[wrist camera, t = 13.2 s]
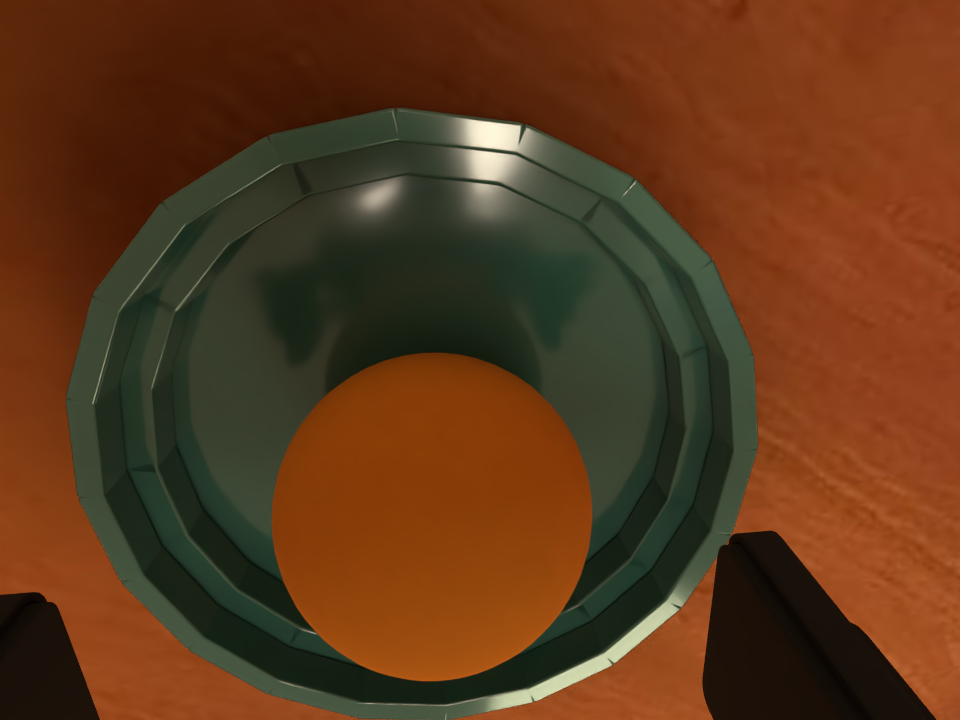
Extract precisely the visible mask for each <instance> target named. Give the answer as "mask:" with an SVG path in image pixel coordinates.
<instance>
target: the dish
mask: <svg viewBox="0 0 960 720" xmlns="http://www.w3.org/2000/svg"><path fill="white" fill-rule="evenodd" d="M418 353H450V354H460V355H464V356H469V357H473V358H478V359H480V360H483V361H486V362H489V363H491V364H494V365H496V366H498V367H500V368H502V369H504V370H506V371H508V372H510V373H512V374H514V375H516V376H518V377H519V378H520V379H522V380H523V381H525V382H526V383H527V384H529V385H530V386H532V387H533V388H534V389H535V390H536V391H537V392H538V393H539V394H540V395H541V396H542V397H543V398H544V399H545V400H546V401H548V402H549V403H550V404H551V405H552V407H553V408H554V409H555V410H556V412H557V413H558V414H559V415H560V417H561V418H562V419H563V421H564V423H565V424H566V426H567V427H568V429H569V431H570V433H571V434H572V436H573V438H574V440H575V441H576V443H577V446H578V448H579V451H580V454H581V456H582V459H583V462H584V465H585V468H586V471H587V475H588V480H589V485H590V492H591V500H592V526H591V536H590V544H589V549H588V553H587V556H586V560H585V563H584V567H583V570H582V573H581V576H580V578H579V581H578V583H577V585H576V587H575V589H574V591H573V593H572V595H571V597H570V598H569V600H568V602H567V603H566V605H565V607H564V608H563V610H562V611H561V613H560V614H559V616H558V617H557V618H556V619H555V620H554V622H553V623H552V624H551V625H550V626H549V627H548V628H547V629H546V630H545V632H544V633H543V634H542V635H541V636H539V637H538V638H537V639H536V640H535V641H534V642H533V643H532V644H531V645H530V646H528V647H527V648H526V649H524V650H523V651H522V652H520V653H519V654H517V655H515V656H514V657H512V658H511V659H509V660H507V661H505V662H503V663H501V664H499V665H497V666H495V667H493V668H491V669H488V670H486V671H483V672H480V673H478V674H475V675H471V676H467V677H463V678H458V679H452V680H443V681H416V680H407V679H402V678H397V677H393V676H388V675H384V674H381V673H378V672H375V671H372V670H370V669H368V668H366V667H363V666H361V665H359V664H357V663H356V662H354V661H352V660H351V659H349V658H347V657H346V656H344V655H343V654H341V653H339V652H338V651H337V650H335V649H334V648H333V647H331V646H330V645H329V644H328V643H326V642H325V641H324V640H323V639H322V638H321V637H320V636H319V635H318V633H317V632H316V631H315V630H314V629H313V628H312V627H311V626H310V625H309V624H308V622H307V621H306V620H305V619H304V617H303V616H302V614H301V613H300V612H299V610H298V609H297V607H296V605H295V603H294V601H293V600H292V598H291V596H290V594H289V592H288V590H287V588H286V586H285V584H284V582H283V579H282V576H281V572H280V569H279V566H278V562H277V559H276V555H275V551H274V543H273V536H272V502H273V496H274V491H275V486H276V481H277V476H278V472H279V469H280V466H281V464H282V461H283V458H284V456H285V453H286V451H287V449H288V446H289V444H290V442H291V440H292V439H293V437H294V435H295V433H296V432H297V430H298V428H299V427H300V425H301V424H302V423H303V421H304V420H305V419H306V417H307V416H308V415H309V414H310V412H311V411H312V410H313V409H314V407H315V406H316V405H317V404H318V403H319V402H320V401H321V400H322V399H323V398H324V397H325V396H326V395H327V394H328V393H329V392H330V391H332V390H333V389H334V388H336V387H337V386H338V385H340V384H341V383H343V382H344V381H345V380H347V379H348V378H350V377H351V376H353V375H355V374H356V373H358V372H360V371H362V370H364V369H366V368H367V367H370V366H372V365H375V364H377V363H380V362H382V361H385V360H389V359H392V358H396V357H400V356H404V355H411V354H418ZM66 397H67V398H66V409H67V417H68V425H69V434H70V442H71V450H72V458H73V466H74V474H75V483H76V491H77V496H79V502H80V504H81V506H82V508H83V510H84V512H85V513H86V515H87V517H88V519H89V521H90V523H91V525H92V527H93V529H94V531H95V533H96V535H97V537H98V539H99V541H100V543H101V545H102V547H103V549H104V551H105V553H106V555H107V556H108V558H109V560H110V562H111V564H112V566H113V568H114V570H115V572H116V574H117V576H118V578H119V580H120V581H121V582H123V583H122V584H123V585H124V586H125V587H126V588H127V589H128V590H129V591H130V592H131V593H132V594H133V595H134V596H135V597H136V598H137V599H138V600H139V601H140V602H141V603H142V604H143V605H144V606H145V607H146V608H147V609H148V610H149V611H150V612H151V613H152V614H153V615H154V616H155V617H156V618H157V619H158V620H159V621H160V622H161V623H162V624H163V625H164V626H165V627H166V628H167V629H168V630H169V631H170V632H171V633H172V634H173V635H174V636H175V637H176V638H177V639H178V640H179V641H180V642H181V643H182V644H183V645H184V646H185V647H186V648H188V650H189V651H190V652H192V653H194V654H196V655H198V656H199V657H201V658H203V659H205V660H207V661H208V662H210V663H212V664H214V665H215V666H217V667H219V668H221V669H223V670H224V671H226V672H228V673H230V674H232V675H233V676H235V677H237V678H239V679H241V680H242V681H244V682H246V683H248V684H249V685H251V686H253V687H255V688H257V689H258V690H260V691H262V692H264V693H266V694H270V695H272V696H275V697H279V698H283V699H287V700H290V701H294V702H298V703H302V704H305V705H309V706H313V707H317V708H320V709H324V710H328V711H332V712H335V713H339V714H343V715H347V716H351V717H357V718H358V719H395V720H452V719H457V718H462V717H467V716H472V715H476V714H481V713H486V712H491V711H496V710H500V709H505V708H510V707H515V706H520V705H525V704H529V703H533V701H534V702H536V701H539V700H541V699H543V698H545V697H547V696H549V695H551V694H553V693H556V692H558V691H560V690H562V689H564V688H566V687H568V686H570V685H573V684H575V683H577V682H579V681H581V680H583V679H585V678H587V677H590V676H592V675H594V674H596V673H598V672H600V671H602V670H604V669H607V668H609V667H611V666H613V663H617V662H618V661H619V660H620V659H622V658H623V657H624V656H625V655H626V654H628V653H629V652H630V651H631V650H632V649H634V648H635V647H636V646H637V645H638V644H640V643H641V642H642V641H643V640H644V639H646V638H647V637H648V636H649V635H650V634H652V633H653V632H654V631H655V630H656V629H658V628H659V627H660V626H661V625H662V624H664V623H665V622H666V621H667V620H669V619H670V618H671V617H672V616H673V615H675V614H676V613H677V612H678V611H679V610H680V609H681V607H683V606H684V605H685V603H686V602H687V600H688V599H689V597H690V596H691V594H692V593H693V591H694V590H695V589H696V587H697V586H698V584H699V583H700V581H701V580H702V578H703V577H704V575H705V574H706V573H707V571H708V570H709V568H710V567H711V565H712V564H713V562H714V561H715V559H716V558H717V556H718V551H719V548H720V547H721V546H722V545H726V543H727V542H728V540H729V539H730V537H731V534H732V533H733V530H734V527H735V524H736V520H737V517H738V514H739V510H740V507H741V504H742V500H743V497H744V494H745V490H746V487H747V484H748V480H749V477H750V474H751V470H752V467H753V464H754V460H755V457H756V454H757V448H758V431H757V410H756V389H755V367H754V355H753V353H752V349H751V346H750V344H749V342H748V339H747V337H746V335H745V332H744V330H743V327H742V325H741V323H740V320H739V318H738V316H737V313H736V311H735V309H734V306H733V304H732V302H731V299H730V297H729V295H728V292H727V290H726V288H725V285H724V283H723V281H722V278H721V276H720V274H719V271H718V269H717V267H716V264H715V262H714V261H713V260H712V259H711V256H710V255H709V254H708V253H707V252H706V251H705V250H704V249H703V248H702V247H701V245H700V244H699V243H698V242H697V241H696V240H695V239H694V238H693V237H692V236H691V235H690V234H689V233H688V232H687V231H686V230H685V229H684V228H683V227H682V226H681V225H680V224H679V222H678V221H677V220H676V219H675V218H674V217H673V216H672V215H671V214H670V213H669V212H668V211H667V210H666V209H665V208H664V207H663V206H662V205H661V204H660V203H659V202H658V200H657V199H656V198H655V197H654V196H653V195H652V194H651V193H650V192H649V191H648V190H647V189H646V188H645V187H644V186H643V185H642V184H641V183H640V182H639V181H638V180H637V179H634V177H633V176H632V175H630V174H628V173H626V172H624V171H622V170H620V169H618V168H616V167H614V166H612V165H610V164H608V163H606V162H604V161H602V160H600V159H598V158H596V157H594V156H592V155H590V154H588V153H586V152H584V151H582V150H580V149H578V148H576V147H573V146H571V145H569V144H567V143H565V142H563V141H561V140H559V139H557V138H555V137H553V136H551V135H549V134H547V133H545V132H543V131H541V130H539V129H537V128H535V127H533V126H531V125H529V124H523V123H522V122H518V121H510V120H502V119H493V118H485V117H477V116H469V115H461V114H453V113H445V112H437V111H428V110H420V109H412V108H404V107H398V108H393V107H391V108H386V109H381V110H377V111H372V112H368V113H363V114H359V115H354V116H349V117H345V118H340V119H336V120H331V121H326V122H322V123H317V124H313V125H308V126H303V127H299V128H294V129H290V130H285V131H280V132H276V133H271V134H270V135H269V136H264V137H262V138H261V139H259V140H258V141H256V142H255V143H253V144H251V145H250V146H248V147H247V148H245V149H243V150H242V151H240V152H239V153H237V154H235V155H234V156H232V157H231V158H229V159H228V160H226V161H224V162H223V163H221V164H220V165H218V166H216V167H215V168H213V169H212V170H210V171H209V172H207V173H205V174H204V175H202V176H201V177H199V178H197V179H196V180H194V181H193V182H191V183H190V184H188V185H186V186H185V187H183V188H182V189H180V190H178V191H177V192H175V193H174V194H172V195H170V196H169V197H167V198H166V199H165V200H164V201H163V202H161V203H159V205H158V206H157V207H156V209H155V210H154V211H153V213H152V214H151V216H150V217H149V218H148V220H147V221H146V222H145V224H144V225H143V226H142V228H141V229H140V230H139V232H138V233H137V234H136V236H135V237H134V238H133V240H132V241H131V242H130V244H129V245H128V246H127V248H126V249H125V250H124V252H123V253H122V254H121V256H120V257H119V259H118V260H117V261H116V263H115V264H114V265H113V267H112V268H111V269H110V271H109V272H108V273H107V275H106V276H105V277H104V279H103V280H102V281H101V283H100V284H99V285H98V287H97V288H96V289H95V291H94V292H93V296H92V298H91V301H90V305H89V309H88V313H87V317H86V320H85V324H84V328H83V332H82V336H81V340H80V343H79V347H78V351H77V355H76V359H75V362H74V366H73V370H72V374H71V378H70V381H69V385H68V389H67V393H66Z"/></svg>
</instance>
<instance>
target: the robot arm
mask: <svg viewBox="0 0 960 720" xmlns="http://www.w3.org/2000/svg"><path fill="white" fill-rule="evenodd" d="M702 684H703V692H704V697H705V700H706V704H707V706H708V709H709V711H710V713H711V715H712V717H713V720H936V718H935V717H934V716H933V715H932V714H931V712H930V711H929V710H928V709H927V707H926V706H925V705H924V704H923V703H922V701H921V700H920V699H919V698H918V696H917V695H916V694H915V693H914V692H913V690H912V689H911V688H910V687H909V685H908V684H907V683H906V682H905V681H904V679H903V678H902V677H901V676H900V674H899V673H898V672H897V671H896V670H895V668H894V667H893V666H892V665H891V664H890V662H889V661H888V660H887V659H886V657H885V656H884V655H883V654H882V653H881V651H880V650H879V649H878V648H877V646H876V645H875V644H874V643H873V642H872V640H871V639H870V638H869V637H868V636H867V635H866V634H865V633H864V632H863V631H862V630H861V629H860V628H859V627H858V626H856V625H855V624H853V623H851V622H849V621H848V619H847V618H846V617H845V616H844V614H843V613H842V612H841V611H840V609H839V608H838V607H837V606H836V604H835V603H834V602H833V601H832V600H831V598H830V597H829V596H828V595H827V593H826V592H825V591H824V590H823V588H822V587H821V586H820V585H819V583H818V582H817V581H816V580H815V578H814V577H813V576H812V575H811V573H810V572H809V571H808V570H807V569H806V567H805V566H804V565H803V564H802V562H801V561H800V560H799V559H798V557H797V556H796V555H795V554H794V552H793V551H792V550H791V549H790V547H789V546H788V545H787V544H786V543H785V541H784V540H783V539H782V538H781V536H779V535H778V534H777V533H776V532H774V531H762V532H750V533H738V534H734V535H732V536H731V538H730V540H729V544H728V545H722V546H721V547H720V548H719V551H718V557H717V565H716V573H715V582H714V590H713V598H712V606H711V614H710V622H709V630H708V638H707V646H706V655H705V663H704V671H703V682H702ZM0 720H100V719H99V716H98V713H97V711H96V708H95V705H94V703H93V700H92V697H91V695H90V692H89V689H88V687H87V684H86V681H85V679H84V676H83V673H82V671H81V668H80V665H79V663H78V660H77V657H76V655H75V652H74V649H73V647H72V644H71V641H70V639H69V636H68V633H67V631H66V628H65V625H64V623H63V620H62V617H61V615H60V612H59V609H58V608H57V606H56V605H55V604H54V603H53V602H47V601H46V599H45V597H44V596H43V595H41V594H40V593H36V592H30V593H18V594H6V595H0Z"/></svg>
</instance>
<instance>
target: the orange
mask: <svg viewBox="0 0 960 720" xmlns="http://www.w3.org/2000/svg"><path fill="white" fill-rule="evenodd" d="M591 526H592V500H591V492H590V485H589V480H588V475H587V471H586V468H585V465H584V462H583V459H582V456H581V454H580V451H579V448H578V446H577V443H576V441H575V440H574V438H573V436H572V434H571V433H570V431H569V429H568V427H567V426H566V424H565V423H564V421H563V419H562V418H561V417H560V415H559V414H558V413H557V412H556V410H555V409H554V408H553V407H552V405H551V404H550V403H549V402H548V401H546V400H545V399H544V398H543V397H542V396H541V395H540V394H539V393H538V392H537V391H536V390H535V389H534V388H533V387H532V386H530V385H529V384H527V383H526V382H525V381H523V380H522V379H520V378H519V377H518V376H516V375H514V374H512V373H510V372H508V371H506V370H504V369H502V368H500V367H498V366H496V365H494V364H491V363H489V362H486V361H483V360H480V359H478V358H473V357H469V356H464V355H460V354H450V353H418V354H411V355H404V356H400V357H396V358H392V359H389V360H385V361H382V362H380V363H377V364H375V365H372V366H370V367H367V368H366V369H364V370H362V371H360V372H358V373H356V374H355V375H353V376H351V377H350V378H348V379H347V380H345V381H344V382H343V383H341V384H340V385H338V386H337V387H336V388H334V389H333V390H332V391H330V392H329V393H328V394H327V395H326V396H325V397H324V398H323V399H322V400H321V401H320V402H319V403H318V404H317V405H316V406H315V407H314V409H313V410H312V411H311V412H310V414H309V415H308V416H307V417H306V419H305V420H304V421H303V423H302V424H301V425H300V427H299V428H298V430H297V432H296V433H295V435H294V437H293V439H292V440H291V442H290V444H289V446H288V449H287V451H286V453H285V456H284V458H283V461H282V464H281V466H280V469H279V472H278V476H277V481H276V486H275V491H274V496H273V502H272V536H273V543H274V551H275V555H276V559H277V562H278V566H279V569H280V572H281V576H282V579H283V582H284V584H285V586H286V588H287V590H288V592H289V594H290V596H291V598H292V600H293V601H294V603H295V605H296V607H297V609H298V610H299V612H300V613H301V614H302V616H303V617H304V619H305V620H306V621H307V622H308V624H309V625H310V626H311V627H312V628H313V629H314V630H315V631H316V632H317V633H318V635H319V636H320V637H321V638H322V639H323V640H324V641H325V642H326V643H328V644H329V645H330V646H331V647H333V648H334V649H335V650H337V651H338V652H339V653H341V654H343V655H344V656H346V657H347V658H349V659H351V660H352V661H354V662H356V663H357V664H359V665H361V666H363V667H366V668H368V669H370V670H372V671H375V672H378V673H381V674H384V675H388V676H393V677H397V678H402V679H407V680H416V681H443V680H452V679H458V678H463V677H467V676H471V675H475V674H478V673H480V672H483V671H486V670H488V669H491V668H493V667H495V666H497V665H499V664H501V663H503V662H505V661H507V660H509V659H511V658H512V657H514V656H515V655H517V654H519V653H520V652H522V651H523V650H524V649H526V648H527V647H528V646H530V645H531V644H532V643H533V642H534V641H535V640H536V639H537V638H538V637H539V636H541V635H542V634H543V633H544V632H545V630H546V629H547V628H548V627H549V626H550V625H551V624H552V623H553V622H554V620H555V619H556V618H557V617H558V616H559V614H560V613H561V611H562V610H563V608H564V607H565V605H566V603H567V602H568V600H569V598H570V597H571V595H572V593H573V591H574V589H575V587H576V585H577V583H578V581H579V578H580V576H581V573H582V570H583V567H584V563H585V560H586V556H587V553H588V549H589V544H590V536H591Z"/></svg>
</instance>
